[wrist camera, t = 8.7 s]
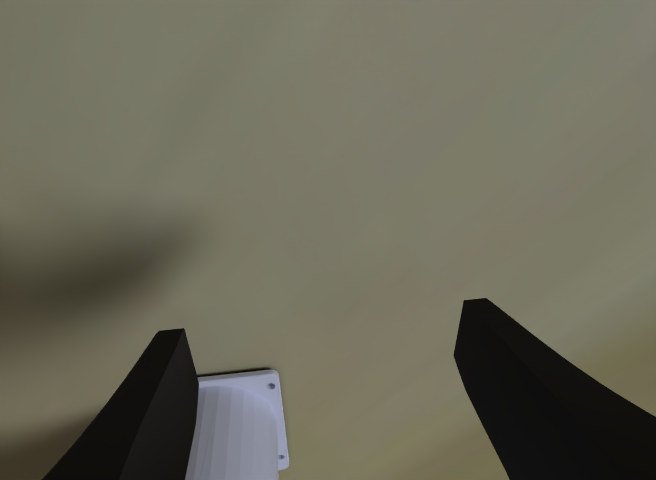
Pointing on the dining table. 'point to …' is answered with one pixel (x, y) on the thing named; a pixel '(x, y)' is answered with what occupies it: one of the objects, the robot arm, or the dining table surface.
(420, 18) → the dining table surface
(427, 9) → the dining table surface
